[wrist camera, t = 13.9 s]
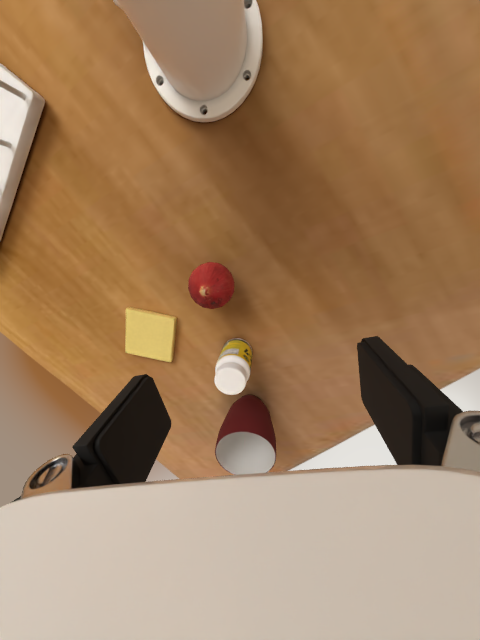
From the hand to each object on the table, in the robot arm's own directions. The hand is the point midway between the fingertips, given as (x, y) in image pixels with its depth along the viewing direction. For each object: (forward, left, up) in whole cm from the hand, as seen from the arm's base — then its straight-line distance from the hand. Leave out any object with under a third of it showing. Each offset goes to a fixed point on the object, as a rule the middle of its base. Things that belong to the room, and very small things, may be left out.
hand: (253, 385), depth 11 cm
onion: (-6, -3, -24) cm, 25 cm away
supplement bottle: (+2, -11, -24) cm, 27 cm away
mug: (+10, -19, -24) cm, 32 cm away
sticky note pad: (-11, -16, -24) cm, 31 cm away
